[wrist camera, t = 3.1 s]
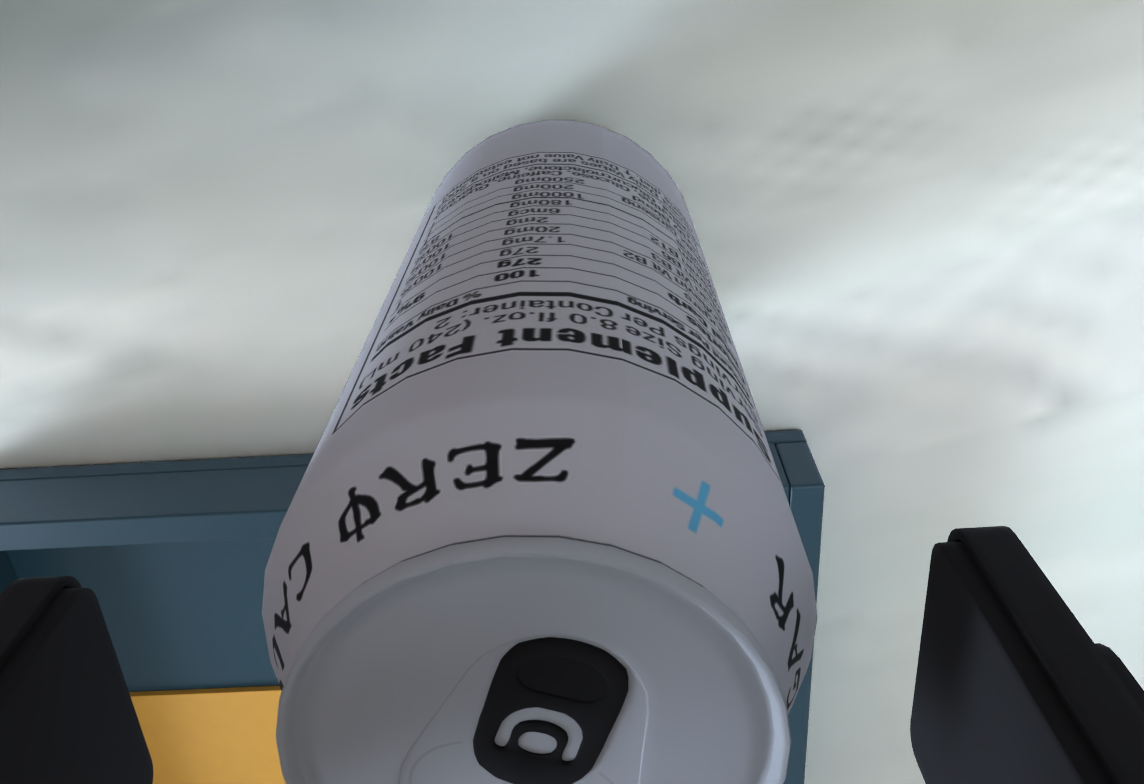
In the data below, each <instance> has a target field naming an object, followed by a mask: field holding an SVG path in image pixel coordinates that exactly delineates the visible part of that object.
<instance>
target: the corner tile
mask: <svg viewBox="0 0 1144 784" xmlns="http://www.w3.org/2000/svg"><path fill="white" fill-rule="evenodd" d="M281 692H282V691H281V688H280V686H259V687H236V688H212V689H189V690H165V691H141V692H129V694H130V697H131V700H132V702H133V705H134V708H135V711H136V714H137V717H138V720H139V723H140V726H141V729H142V732H143V735H144V738H145V741H146V744H147V747H148V750H149V753H150V756H151V759H152V763H153V784H286V782H285V780H284V777H283V775H282V771H281V765H280V760H279V754H278V748H277V743H276V727H277V716H278V705H279V698H280V695H281Z"/></svg>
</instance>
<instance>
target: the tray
mask: <svg viewBox="0 0 1144 784" xmlns="http://www.w3.org/2000/svg"><path fill="white" fill-rule="evenodd" d="M764 433H765V436H766V439H767V442H768V445H769V448H770V451H771V454H772V456H773V459H774V462H775V465H776V468H777V471H778V474H779V477H780V480H781V483H782V486H783V488H784V491H785V494H786V497H787V500H788V503H789V506H790V509H791V512H792V515H793V518H794V520H795V523H796V526H797V529H798V532H799V535H800V538H801V541H802V544H803V547H804V550H805V552H806V555H807V558H808V561H809V564H810V567H811V570H812V573H813V580H814V590H815V600H816V603H817V588H818V574H819V559H820V545H821V530H822V516H823V502H824V487H825V485H824V483H823V481H822V478H821V476H820V473H819V471H818V469H817V466H816V464H815V461H814V459H813V457H812V454H811V452H810V449H809V447H808V445H807V441H806V439H805V437H804V434H803V432H802V430H788V431H768V432H764ZM313 455H314V454H302V455H282V456H262V457H242V458H221V459H201V460H181V461H161V462H140V463H120V464H100V465H80V466H59V467H39V468H19V469H0V595H1V594H2V592H3V591H4V590H5V589H6V587H7V586H8V585H9V584H11V583H12V582H13V581H14V580H17V579H20V578H33V577H52V576H71V577H74V578H75V579H76V580H77V581H78V582H79V583H80V585H81V587H82V588H89V589H91V590H92V591H93V592H94V593H95V595H96V597H97V599H98V602H99V605H100V608H101V611H102V614H103V617H104V620H105V623H106V626H107V629H108V631H109V634H110V637H111V640H112V643H113V646H114V649H115V652H116V655H117V658H118V661H119V664H120V667H121V670H122V673H123V676H124V679H125V682H126V685H127V688H128V691H129V692H141V691H165V690H189V689H212V688H236V687H259V686H279V683H278V681H277V678H276V675H275V673H274V670H273V667H272V665H271V662H270V657H269V651H268V646H267V640H266V634H265V628H264V623H263V617H262V604H263V591H264V578H265V569H266V566H267V563H268V560H269V557H270V554H271V551H272V548H273V545H274V543H275V540H276V537H277V534H278V531H279V528H280V526H281V524H282V521H283V519H284V517H285V515H286V513H287V511H288V508H289V506H290V504H291V502H292V500H293V498H294V496H295V493H296V491H297V489H298V487H299V485H300V483H301V480H302V478H303V476H304V474H305V472H306V470H307V467H308V465H309V463H310V461H311V459H312V457H313ZM813 646H814V641H813ZM812 661H813V648H812V654H811V660H810V663H809V666H808V669H807V671H806V674H805V676H804V678H803V681H802V683H801V686H800V688H799V691H798V693H797V695H796V698H795V700H794V703H793V705H792V707H791V709H790V711H789V713H788V719H789V727H790V735H791V747H790V754H789V760H788V767H787V774H786V779H785V781H784V783H783V784H804V777H805V762H806V748H807V733H808V719H809V704H810V690H811V675H812Z"/></svg>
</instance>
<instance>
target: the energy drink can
mask: <svg viewBox="0 0 1144 784" xmlns="http://www.w3.org/2000/svg"><path fill="white" fill-rule="evenodd" d="M262 617H263V623H264V628H265V634H266V640H267V646H268V651H269V657H270V662H271V665H272V667H273V670H274V673H275V675H276V678H277V681H278V683H279V686H280V688H281V691H282V692H281V695H280V698H279V705H278V716H277V727H276V743H277V748H278V754H279V760H280V765H281V771H282V775H283V777H284V780H285V782H286V784H783V783H784V781H785V779H786V774H787V767H788V760H789V754H790V747H791V735H790V727H789V719H788V713H789V711H790V709H791V707H792V705H793V703H794V700H795V698H796V695H797V693H798V691H799V688H800V686H801V683H802V681H803V678H804V676H805V674H806V671H807V669H808V666H809V663H810V660H811V654H812V648H813V641H814V635H815V628H816V622H817V610H816V600H815V590H814V580H813V573H812V570H811V567H810V564H809V561H808V558H807V555H806V552H805V550H804V547H803V544H802V541H801V538H800V535H799V532H798V529H797V526H796V523H795V520H794V518H793V515H792V512H791V509H790V506H789V503H788V500H787V497H786V494H785V491H784V488H783V486H782V483H781V480H780V477H779V474H778V471H777V468H776V465H775V462H774V459H773V456H772V454H771V451H770V448H769V445H768V442H767V439H766V436H765V433H764V430H763V427H762V424H761V422H760V419H759V416H758V413H757V410H756V407H755V404H754V401H753V398H752V395H751V392H750V390H749V387H748V384H747V381H746V378H745V375H744V372H743V369H742V366H741V363H740V360H739V358H738V355H737V352H736V349H735V346H734V343H733V340H732V337H731V334H730V331H729V328H728V326H727V323H726V320H725V317H724V314H723V311H722V308H721V305H720V302H719V299H718V296H717V294H716V291H715V288H714V285H713V282H712V279H711V276H710V273H709V270H708V267H707V264H706V262H705V259H704V256H703V253H702V250H701V247H700V244H699V241H698V238H697V235H696V232H695V229H694V227H693V224H692V221H691V218H690V215H689V212H688V210H687V207H686V204H685V201H684V199H683V196H682V194H681V193H680V191H679V190H678V188H677V186H676V185H675V183H674V181H673V180H672V178H671V177H670V175H669V173H668V172H667V171H666V170H665V169H664V168H663V167H662V166H661V165H660V164H659V163H658V162H657V161H656V160H655V159H654V158H653V157H652V155H651V154H650V153H648V152H647V151H645V150H644V149H643V148H641V147H640V146H638V145H637V144H635V143H634V142H632V141H631V140H630V139H628V138H627V137H624V136H622V135H620V134H617V133H615V132H613V131H610V130H608V129H606V128H604V127H601V126H597V125H592V124H588V123H583V122H578V121H573V120H542V121H537V122H532V123H527V124H522V125H517V126H514V127H512V128H509V129H507V130H504V131H502V132H500V133H497V134H495V135H492V136H490V137H489V138H487V139H486V140H484V141H483V142H481V143H480V144H478V145H477V146H475V147H474V148H473V149H471V150H470V151H468V152H467V153H466V154H465V155H464V156H463V157H462V158H461V159H460V160H459V161H458V162H457V163H456V164H455V165H454V166H453V167H452V168H451V169H450V170H449V172H448V173H447V175H446V176H445V178H444V179H443V181H442V183H441V184H440V186H439V188H438V189H437V191H436V192H435V194H434V196H433V198H432V200H431V202H430V205H429V207H428V209H427V211H426V213H425V215H424V217H423V220H422V222H421V224H420V226H419V228H418V230H417V233H416V235H415V237H414V239H413V241H412V243H411V246H410V248H409V250H408V252H407V254H406V256H405V258H404V261H403V263H402V265H401V267H400V269H399V271H398V274H397V276H396V278H395V280H394V282H393V284H392V286H391V289H390V291H389V293H388V295H387V297H386V299H385V302H384V304H383V306H382V308H381V310H380V312H379V314H378V317H377V319H376V321H375V323H374V325H373V327H372V330H371V332H370V334H369V336H368V338H367V340H366V342H365V345H364V347H363V349H362V351H361V353H360V355H359V358H358V360H357V362H356V364H355V366H354V368H353V371H352V373H351V375H350V377H349V379H348V381H347V383H346V386H345V388H344V390H343V392H342V394H341V396H340V399H339V401H338V403H337V405H336V407H335V409H334V411H333V414H332V416H331V418H330V420H329V422H328V424H327V427H326V429H325V431H324V433H323V435H322V437H321V439H320V442H319V444H318V446H317V448H316V450H315V452H314V455H313V457H312V459H311V461H310V463H309V465H308V467H307V470H306V472H305V474H304V476H303V478H302V480H301V483H300V485H299V487H298V489H297V491H296V493H295V496H294V498H293V500H292V502H291V504H290V506H289V508H288V511H287V513H286V515H285V517H284V519H283V521H282V524H281V526H280V528H279V531H278V534H277V537H276V540H275V543H274V545H273V548H272V551H271V554H270V557H269V560H268V563H267V566H266V569H265V578H264V591H263V604H262Z"/></svg>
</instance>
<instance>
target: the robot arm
mask: <svg viewBox="0 0 1144 784" xmlns="http://www.w3.org/2000/svg"><path fill="white" fill-rule="evenodd" d="M910 731H911V741H912V747H913V751H914V755H915V758H916V761H917V763H918V766H919V768H920V770H921V773H922V775H923V778H924V780H925V783H926V784H1144V691H1143V689H1142V688H1141V687H1140V685H1139V684H1138V682H1137V681H1136V680H1135V678H1134V677H1133V676H1132V674H1131V673H1130V672H1129V670H1128V669H1127V668H1126V666H1125V665H1124V664H1123V662H1122V661H1121V659H1120V658H1119V657H1118V656H1117V655H1116V654H1115V653H1114V652H1113V651H1112V650H1111V649H1110V648H1109V647H1106V646H1104V645H1102V644H1100V643H1097V644H1094V642H1093V641H1092V640H1091V638H1090V637H1089V636H1088V634H1087V633H1086V631H1085V630H1084V629H1083V627H1082V626H1081V624H1080V623H1079V622H1078V620H1077V619H1076V617H1075V616H1074V615H1073V613H1072V612H1071V611H1070V609H1069V608H1068V606H1067V605H1066V604H1065V602H1064V601H1063V599H1062V598H1061V597H1060V595H1059V594H1058V593H1057V591H1056V590H1055V588H1054V587H1053V586H1052V584H1051V583H1050V581H1049V580H1048V579H1047V577H1046V576H1045V574H1044V573H1043V572H1042V570H1041V569H1040V568H1039V566H1038V565H1037V563H1036V562H1035V561H1034V559H1033V558H1032V556H1031V555H1030V554H1029V552H1028V551H1027V549H1026V548H1025V547H1024V545H1023V544H1022V543H1021V541H1020V540H1019V538H1018V537H1017V536H1016V534H1015V533H1014V532H1013V531H1012V530H1011V529H1010V528H1009V527H1006V526H997V527H978V528H959V529H954V530H952V531H951V533H950V535H949V537H948V541H947V542H945V543H937V544H935V545H934V547H933V550H932V555H931V563H930V571H929V579H928V587H927V595H926V603H925V611H924V619H923V627H922V635H921V643H920V651H919V659H918V667H917V675H916V683H915V691H914V699H913V707H912V715H911V725H910ZM0 784H153V763H152V759H151V756H150V753H149V750H148V747H147V744H146V741H145V738H144V735H143V732H142V729H141V726H140V723H139V720H138V717H137V714H136V711H135V708H134V705H133V702H132V700H131V697H130V694H129V691H128V688H127V685H126V682H125V679H124V676H123V673H122V670H121V667H120V664H119V661H118V658H117V655H116V652H115V649H114V646H113V643H112V640H111V637H110V634H109V631H108V629H107V626H106V623H105V620H104V617H103V614H102V611H101V608H100V605H99V602H98V599H97V597H96V595H95V593H94V592H93V591H92V590H91V589H89V588H82V587H81V585H80V583H79V582H78V581H77V580H76V579H75V578H74V577H71V576H52V577H33V578H20V579H17V580H14V581H13V582H12V583H11V584H9V585H8V586H7V587H6V589H5V590H4V591H3V592H2V594H1V595H0Z"/></svg>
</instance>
